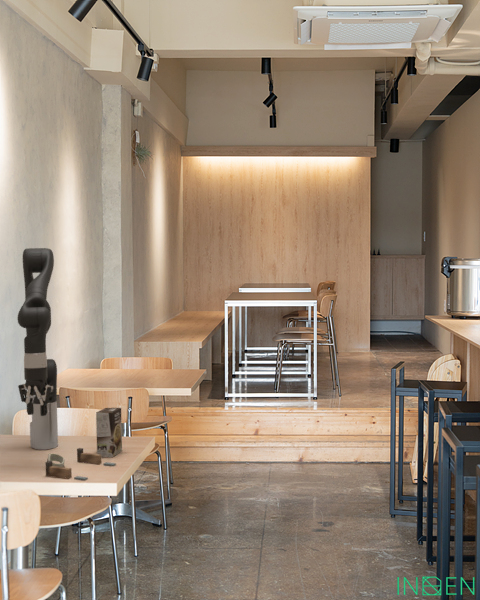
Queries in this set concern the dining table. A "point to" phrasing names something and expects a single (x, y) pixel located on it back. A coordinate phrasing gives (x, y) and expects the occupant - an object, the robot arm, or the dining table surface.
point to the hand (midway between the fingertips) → (37, 414)
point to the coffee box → (109, 432)
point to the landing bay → (83, 478)
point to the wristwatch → (56, 459)
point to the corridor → (66, 472)
